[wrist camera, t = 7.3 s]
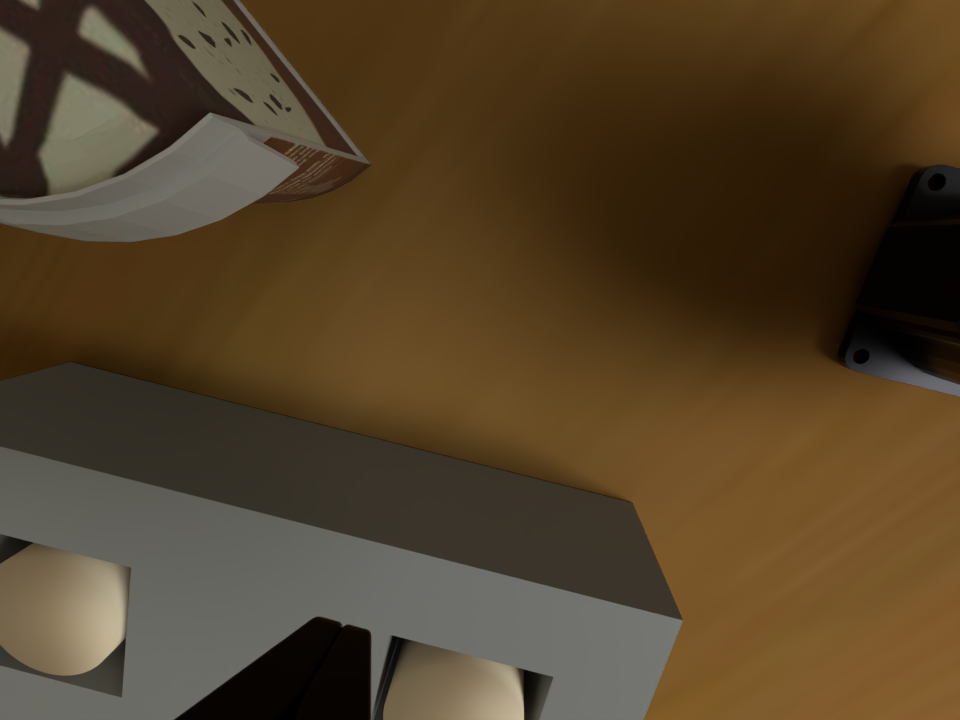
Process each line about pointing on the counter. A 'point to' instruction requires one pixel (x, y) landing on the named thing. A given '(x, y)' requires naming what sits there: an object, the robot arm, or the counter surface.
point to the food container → (153, 119)
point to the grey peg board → (314, 552)
